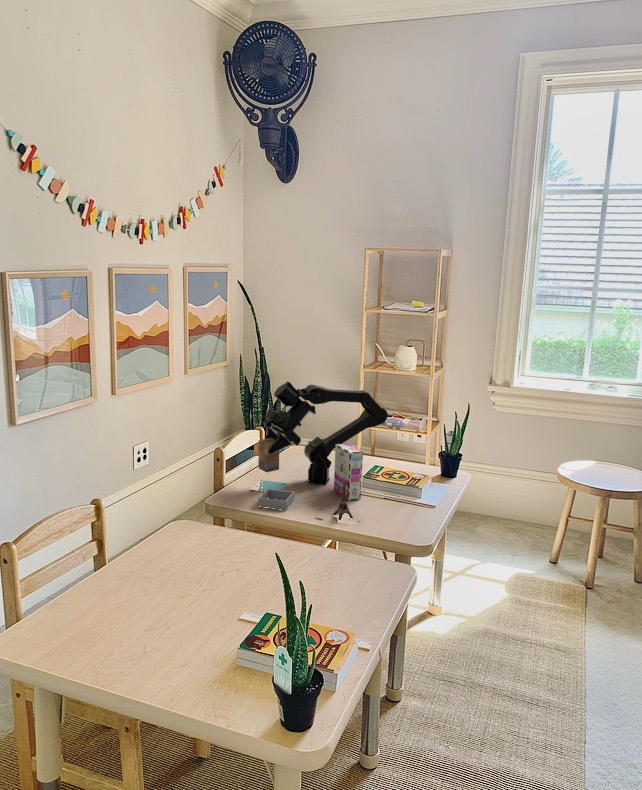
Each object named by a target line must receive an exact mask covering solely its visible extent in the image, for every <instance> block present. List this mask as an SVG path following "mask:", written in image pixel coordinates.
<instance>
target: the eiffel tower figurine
mask: <svg viewBox="0 0 642 790" xmlns="http://www.w3.org/2000/svg"><path fill="white" fill-rule="evenodd" d="M347 501H348V500H346V495H345V477H344V481H343V492H342V496H341V500H340V501H339V505H338V506H337V508H336V509H335V511H334V512H333V513H332V514H333V515H336V514H339V518H338V519H339V520H341V518H342V515H343V514H344V513H347V514H349V516H350V518H354V516H353V515H352V513H351V512H350V511H351V510H350V508H348V504H347V503H348V502H347Z"/></svg>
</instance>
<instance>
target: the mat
mask: <svg viewBox="0 0 642 790" xmlns="http://www.w3.org/2000/svg"><path fill="white" fill-rule="evenodd" d="M262 480H263V483H262V482H260V487H259V489H258V490H259V491H261V490H262V491H266V490H267V489H274V490H284V488H286V486H287V485H288V482H284V481H283V482H282V481H281V482H280V481H272V480H264V479H262ZM262 484H263V485H262ZM254 485H256V483H255V484H254ZM256 487H257V486H256ZM261 487H263V488H261ZM260 488H261V489H260Z"/></svg>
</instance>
